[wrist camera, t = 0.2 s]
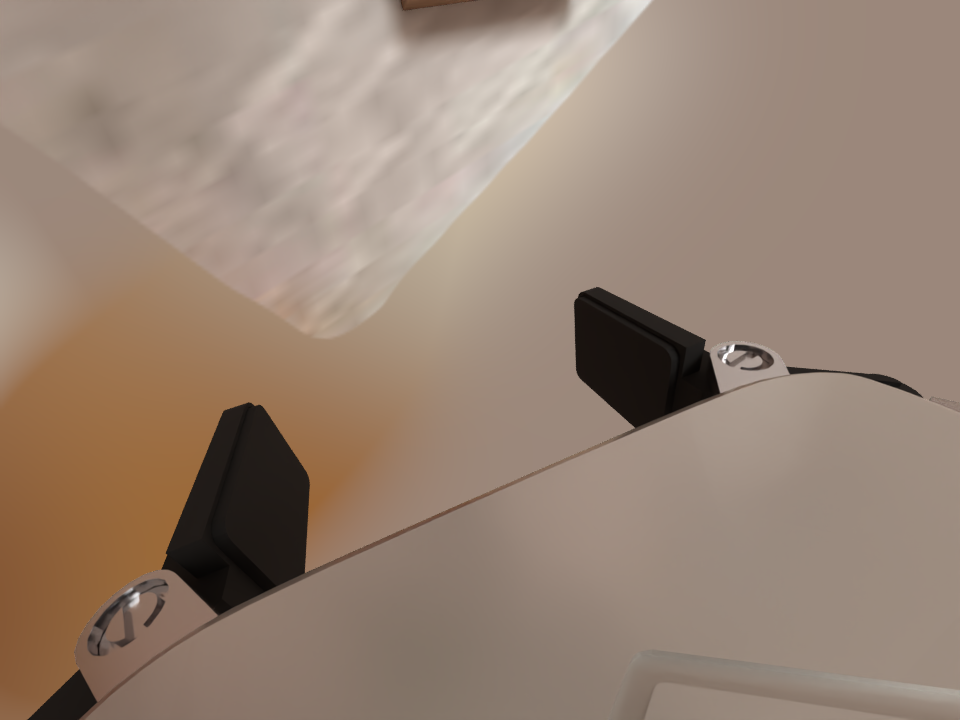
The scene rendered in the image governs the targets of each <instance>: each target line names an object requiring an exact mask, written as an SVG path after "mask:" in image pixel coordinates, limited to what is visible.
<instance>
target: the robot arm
mask: <svg viewBox="0 0 960 720" xmlns="http://www.w3.org/2000/svg"><path fill="white" fill-rule="evenodd" d="M574 313H575V344H576V345H575V348H576V371H577V374H578V376H579V378H580V379H581V380H582V381H583V382H584V383H586V384H587V385H588V386H589V387H590V388H591V389H592V390H593V391H595V392H596V393H597V394H598V395H599V396H600V397H601V398H603V399H604V400H605V401H606V402H607V403H608V404H609V405H610V406H611V407H612V408H614V409H615V410H616V411H617V412H618V413H619V414H620V415H621V416H622V417H624V418H625V419H626V420H627V421H628V422H629V423H630V424H632V425H633V426H634V427H635V429H632V430H630V431H628V432H625V433H623V434H621V435H618V436H616V437H614V438H611V439H609V440H607V441H604V442H602V443H600V444H597V445H595V446H593V447H590V448H588V449H586V450H583V451H581V452H579V453H577V454H574V455H572V456H570V457H567V458H565V459H563V460H560V461H558V462H556V463H553V464H551V465H549V466H546V467H544V468H542V469H539V470H537V471H535V472H532V473H530V474H528V475H526V476H523V477H521V478H519V479H517V480H514V481H512V482H510V483H507V484H505V485H503V486H500V487H498V488H496V489H494V490H491V491H489V492H487V493H484V494H482V495H480V496H477V497H475V498H473V499H471V500H468V501H466V502H464V503H461V504H459V505H457V506H455V507H452V508H450V509H448V510H446V511H443V512H441V513H439V514H437V515H434V516H432V517H430V518H427V519H426V520H423V521H421V522H418V523H416V524H414V525H412V526H410V527H407V528H405V529H403V530H400V531H398V532H396V533H393V534H391V535H389V536H387V537H385V538H382V539H380V540H378V541H376V542H373V543H371V544H369V545H366V546H364V547H362V548H360V549H357V550H355V551H353V552H351V553H348V554H346V555H344V556H342V557H340V558H337V559H335V560H333V561H331V562H329V563H326V564H324V565H322V566H320V567H318V568H316V569H313V570H311V571H309V572H307V573H305V558H306V539H307V522H308V505H309V487H310V484H309V483H310V482H309V477H308V475H307V472H306V471H305V469H304V468H303V466H302V465H301V463H300V462H299V460H298V459H297V457H296V456H295V454H294V453H293V451H292V450H291V448H290V447H289V445H288V444H287V442H286V441H285V439H284V438H283V436H282V435H281V433H280V432H279V430H278V428H277V427H276V425H275V424H274V423H273V421H272V420H271V418H270V416H269V415H268V413H267V412H266V411H265V409H264V408H263V407H262V406H261V405H257V406H254V405H253V404H252V403H246V404H243V405H240V406H237V407H234V408H230V409H227V410H225V411H224V412H223V413H222V416H221V418H220V421H219V423H218V426H217V428H216V431H215V433H214V436H213V438H212V441H211V443H210V445H209V448H208V450H207V453H206V455H205V458H204V460H203V463H202V465H201V468H200V470H199V472H198V475H197V477H196V480H195V482H194V485H193V487H192V490H191V492H190V495H189V497H188V499H187V502H186V505H185V507H184V509H183V512H182V514H181V517H180V519H179V522H178V524H177V527H176V529H175V532H174V534H173V537H172V539H171V541H170V544H169V546H168V549H167V551H166V554H167V557H166V560H165V562H164V565H163V567H162V569H161V570H156V571H153V572H150V573H147V574H145V575H143V576H141V577H139V578H137V579H135V580H134V581H132V582H130V583H128V584H127V585H126V586H124V587H123V588H122V589H121V590H119V591H118V592H116V593H115V594H114V595H113V596H112V597H111V598H110V599H109V600H108V601H107V602H106V603H104V605H102V606H101V607H100V608H99V610H98V611H97V612H96V613H95V614H94V616H93V617H92V618H91V619H90V621H89V622H88V623H87V625H86V627H85V628H84V630H83V632H82V633H81V635H80V637H79V639H78V642H77V645H76V649H75V652H74V653H75V660H76V664H77V665H78V667H79V670H78V671H77V672H76V673H75V674H74V675H73V676H72V677H71V678H70V679H69V680H68V681H67V682H66V683H65V684H64V685H63V686H62V687H61V688H60V689H59V690H58V691H57V692H56V693H55V694H53V696H51V697H50V699H48V700H47V701H46V702H45V703H44V704H43V705H42V706H41V707H40V708H39V709H38V710H37V711H36V712H35V713H34V714H33V715H32V716H31V717H30V718H29V719H28V720H960V403H959V402H954V401H949V400H945V399H940V398H935V397H931V398H930V400H926V399H924V398H923V397H922V396H921V395H920V394H919V393H918V392H917V391H916V390H914V389H912V388H911V387H909V386H907V385H905V384H903V383H901V382H900V381H898V380H896V379H894V378H891V377H888V376H884V375H879V374H864V373H852V372H840V371H829V370H817V369H806V368H795V367H786V366H785V364H784V362H783V360H782V359H781V357H780V356H779V355H778V354H777V353H776V352H774V351H773V350H771V349H769V348H767V347H764V346H762V345H759V344H754V343H749V342H741V341H733V342H725V343H720V344H718V345H716V346H714V347H713V348H712V349H711V351H710V353H709V352H707V351H705V350H704V346H705V341H706V340H705V339H703V338H701V337H699V336H697V335H694V334H692V333H690V332H688V331H686V330H684V329H682V328H680V327H678V326H676V325H674V324H672V323H670V322H668V321H666V320H664V319H662V318H660V317H658V316H656V315H654V314H652V313H650V312H648V311H646V310H644V309H642V308H640V307H638V306H636V305H634V304H632V303H630V302H628V301H626V300H624V299H622V298H620V297H618V296H616V295H614V294H611V293H610V292H608V291H606V290H603V289H601V288H599V287H596V288H593V289H590V290H587V291H584V292H581V293H580V294H579V296H578V298H577V299H576V300H575V302H574Z"/></svg>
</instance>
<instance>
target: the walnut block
mask: <svg viewBox="0 0 960 720" xmlns="http://www.w3.org/2000/svg"><path fill="white" fill-rule="evenodd" d="M469 1H476V0H401V4H402V8H403V10H411V9H418V8H425V7H433V6H440V5H447V4H455V3H462V2H469Z"/></svg>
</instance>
